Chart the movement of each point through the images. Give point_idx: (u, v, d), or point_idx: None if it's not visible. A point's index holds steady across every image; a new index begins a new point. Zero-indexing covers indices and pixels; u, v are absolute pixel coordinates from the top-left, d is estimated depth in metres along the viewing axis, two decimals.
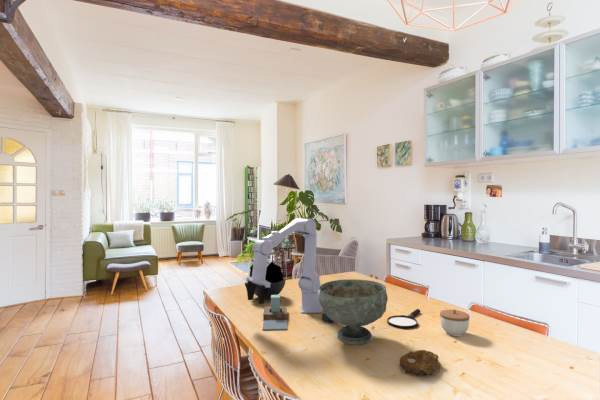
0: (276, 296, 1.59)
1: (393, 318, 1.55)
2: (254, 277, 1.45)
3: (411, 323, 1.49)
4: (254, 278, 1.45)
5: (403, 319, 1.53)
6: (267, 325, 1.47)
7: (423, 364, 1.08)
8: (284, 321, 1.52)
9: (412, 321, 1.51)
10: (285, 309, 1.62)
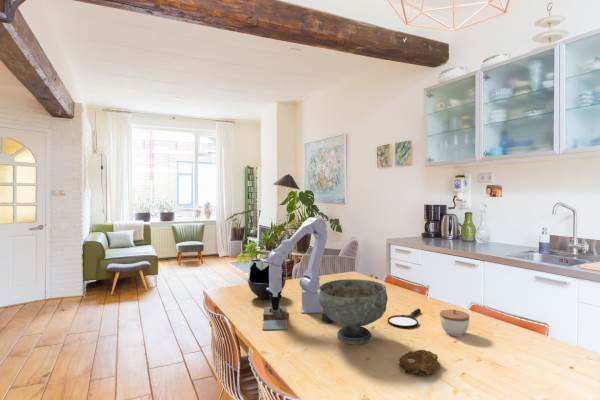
0: None
1: (393, 318, 1.55)
2: (269, 286, 1.59)
3: (411, 323, 1.49)
4: (269, 287, 1.59)
5: (403, 319, 1.54)
6: (267, 325, 1.47)
7: (423, 364, 1.08)
8: (284, 321, 1.52)
9: (412, 321, 1.51)
10: (285, 309, 1.62)
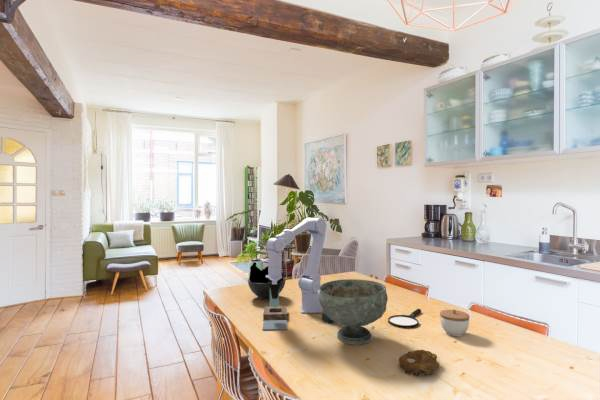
0: None
1: (394, 318, 1.56)
2: (268, 274, 1.53)
3: (412, 323, 1.50)
4: (268, 275, 1.53)
5: (404, 319, 1.54)
6: (267, 325, 1.47)
7: (423, 364, 1.09)
8: (284, 321, 1.52)
9: (413, 321, 1.52)
10: (285, 309, 1.62)
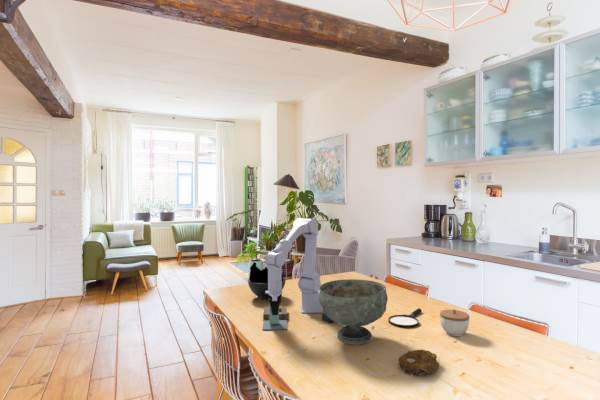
0: None
1: (394, 317, 1.56)
2: (268, 289, 1.47)
3: (412, 322, 1.50)
4: (268, 290, 1.47)
5: (404, 319, 1.54)
6: (267, 325, 1.47)
7: (423, 364, 1.09)
8: (284, 321, 1.52)
9: (413, 320, 1.52)
10: (285, 309, 1.62)
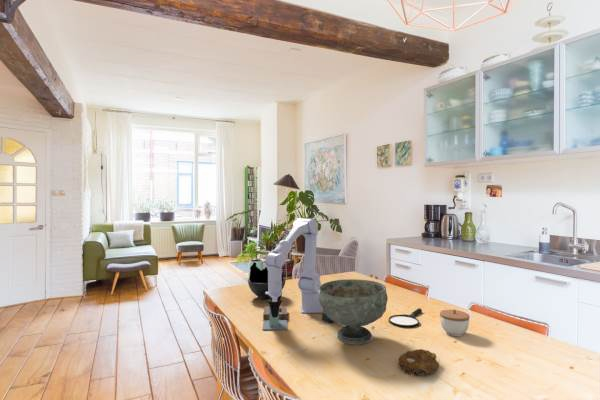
0: None
1: (395, 317, 1.56)
2: (268, 290, 1.47)
3: (412, 322, 1.50)
4: (268, 291, 1.47)
5: (404, 318, 1.54)
6: (267, 325, 1.47)
7: (422, 363, 1.09)
8: (284, 321, 1.52)
9: (413, 320, 1.52)
10: (285, 309, 1.62)
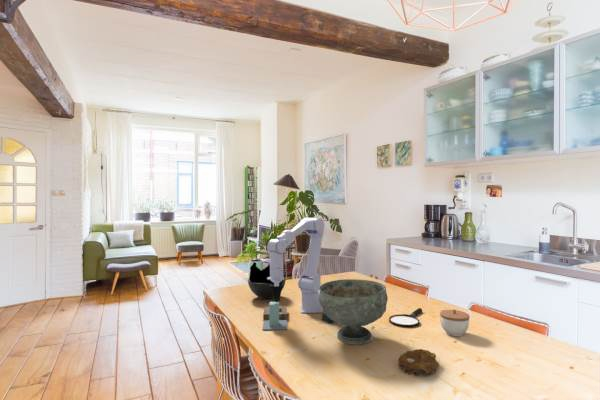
0: (275, 303, 1.47)
1: (395, 317, 1.56)
2: (270, 275, 1.51)
3: (413, 322, 1.50)
4: (270, 276, 1.51)
5: (405, 318, 1.55)
6: (267, 325, 1.47)
7: (422, 363, 1.09)
8: (284, 321, 1.52)
9: (414, 320, 1.52)
10: (285, 309, 1.62)
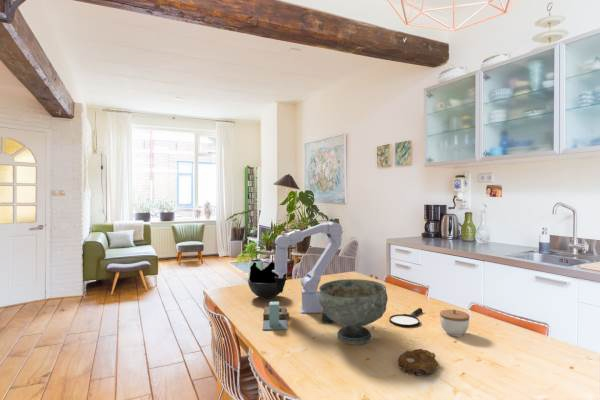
0: (275, 303, 1.47)
1: (395, 317, 1.56)
2: (275, 268, 1.64)
3: (413, 322, 1.50)
4: (275, 269, 1.64)
5: (405, 318, 1.55)
6: (267, 325, 1.47)
7: (422, 363, 1.09)
8: (284, 321, 1.52)
9: (414, 320, 1.53)
10: (285, 309, 1.62)
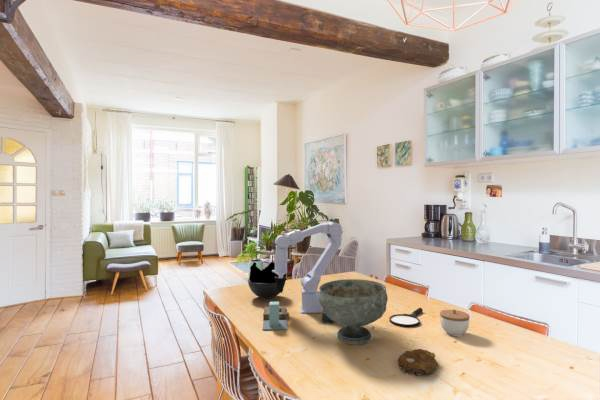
0: (275, 303, 1.47)
1: (395, 317, 1.57)
2: (275, 268, 1.64)
3: (413, 322, 1.51)
4: (275, 269, 1.64)
5: (405, 318, 1.55)
6: (267, 325, 1.47)
7: (422, 363, 1.09)
8: (284, 321, 1.52)
9: (414, 320, 1.53)
10: (285, 309, 1.62)
